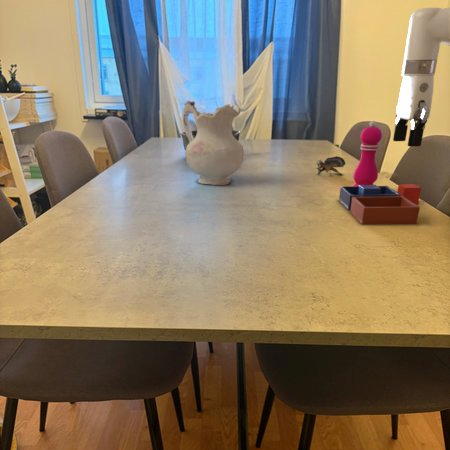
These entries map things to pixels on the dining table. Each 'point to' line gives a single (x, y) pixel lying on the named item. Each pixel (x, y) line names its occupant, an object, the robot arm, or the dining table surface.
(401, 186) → the red block
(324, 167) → the brown insect figurine
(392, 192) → the blue bin
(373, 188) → the blue block
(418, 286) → the dining table surface
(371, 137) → the pepper mill
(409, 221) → the red bin
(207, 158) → the ceramic pitcher
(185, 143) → the bundt pan
